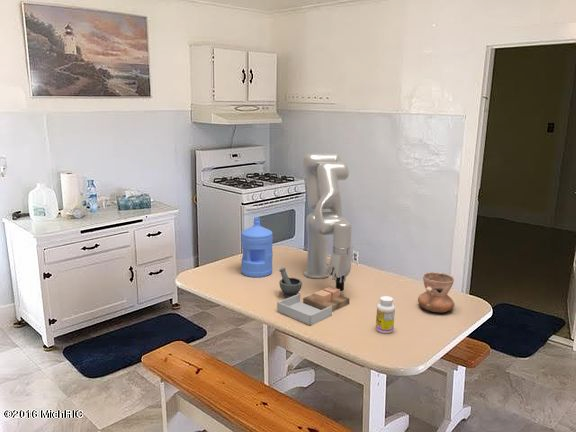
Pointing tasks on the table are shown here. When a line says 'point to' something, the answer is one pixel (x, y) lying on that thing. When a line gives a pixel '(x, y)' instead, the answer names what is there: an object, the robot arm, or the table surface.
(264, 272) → the water jug
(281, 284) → the mortar and pestle
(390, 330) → the supplement bottle
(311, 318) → the tray
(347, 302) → the board
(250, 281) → the table surface
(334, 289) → the tile
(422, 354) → the table surface
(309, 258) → the robot arm
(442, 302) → the ceramic jug
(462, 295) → the table surface
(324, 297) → the tile
